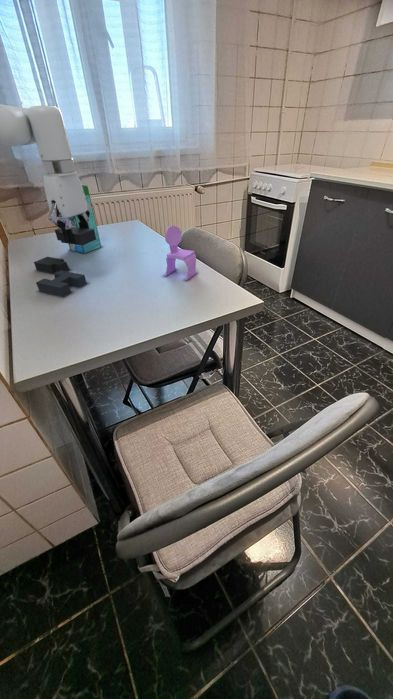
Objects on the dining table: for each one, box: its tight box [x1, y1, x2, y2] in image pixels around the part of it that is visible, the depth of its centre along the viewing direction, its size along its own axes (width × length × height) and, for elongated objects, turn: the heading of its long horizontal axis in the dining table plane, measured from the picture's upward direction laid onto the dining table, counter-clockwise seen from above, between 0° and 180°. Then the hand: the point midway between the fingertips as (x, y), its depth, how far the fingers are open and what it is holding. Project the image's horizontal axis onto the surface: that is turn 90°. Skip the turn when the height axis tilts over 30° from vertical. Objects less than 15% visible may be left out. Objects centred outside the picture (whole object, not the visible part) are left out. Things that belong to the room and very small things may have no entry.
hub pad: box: [35, 270, 88, 298], centre depth 91 cm, size 10×10×3 cm
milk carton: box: [63, 184, 102, 254], centre depth 114 cm, size 9×9×25 cm
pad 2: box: [54, 227, 96, 246], centre depth 86 cm, size 11×6×3 cm, turn 66°
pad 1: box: [33, 256, 70, 274], centre depth 103 cm, size 11×6×3 cm, turn 65°
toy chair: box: [164, 225, 197, 281], centre depth 92 cm, size 8×9×15 cm
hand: (78, 239), depth 86 cm, fingers closed on pad 2, 6 cm apart
